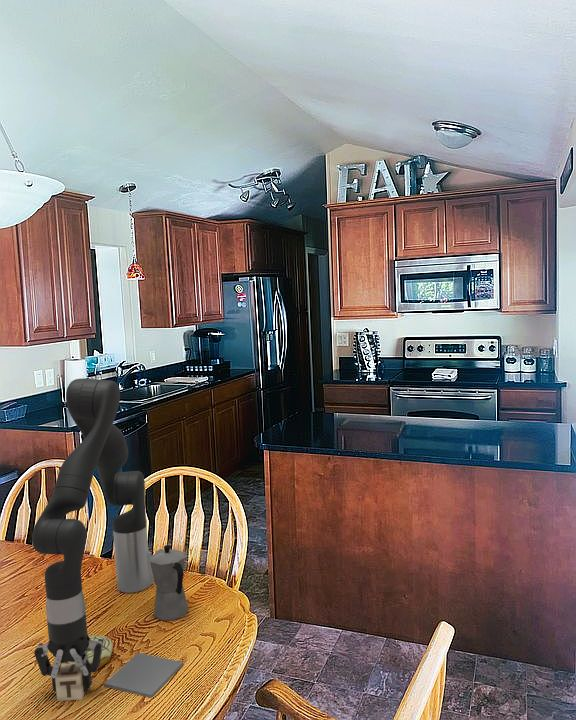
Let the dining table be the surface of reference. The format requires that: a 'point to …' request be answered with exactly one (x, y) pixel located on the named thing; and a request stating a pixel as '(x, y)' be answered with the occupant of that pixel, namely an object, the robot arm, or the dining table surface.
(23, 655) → the dining table surface
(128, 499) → the robot arm
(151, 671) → the slate coaster
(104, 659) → the decorated donut
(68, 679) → the letter block
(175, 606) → the coffeepot
